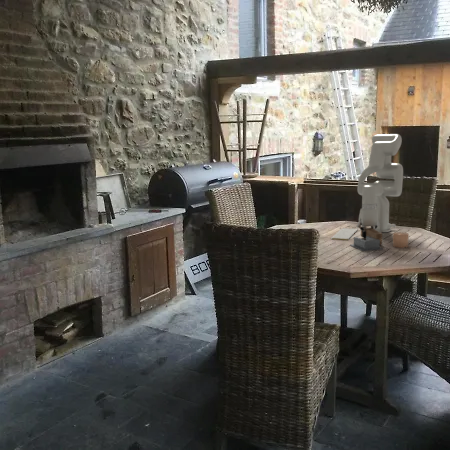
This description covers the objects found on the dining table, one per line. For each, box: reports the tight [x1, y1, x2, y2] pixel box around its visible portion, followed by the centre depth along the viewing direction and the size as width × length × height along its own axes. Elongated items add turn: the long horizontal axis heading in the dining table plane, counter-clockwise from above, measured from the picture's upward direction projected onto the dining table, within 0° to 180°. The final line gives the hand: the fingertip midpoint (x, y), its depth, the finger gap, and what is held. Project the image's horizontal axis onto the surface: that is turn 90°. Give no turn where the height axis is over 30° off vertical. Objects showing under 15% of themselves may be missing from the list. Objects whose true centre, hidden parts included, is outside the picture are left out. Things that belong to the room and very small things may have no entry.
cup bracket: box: [349, 236, 384, 252], centre depth 283 cm, size 12×14×5 cm
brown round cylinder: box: [392, 231, 410, 249], centre depth 284 cm, size 8×8×7 cm
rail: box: [360, 225, 383, 245], centre depth 297 cm, size 4×20×6 cm, turn 8°
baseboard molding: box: [330, 225, 359, 241], centre depth 318 cm, size 31×3×12 cm
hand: (368, 237), depth 301 cm, fingers closed on rail, 4 cm apart
